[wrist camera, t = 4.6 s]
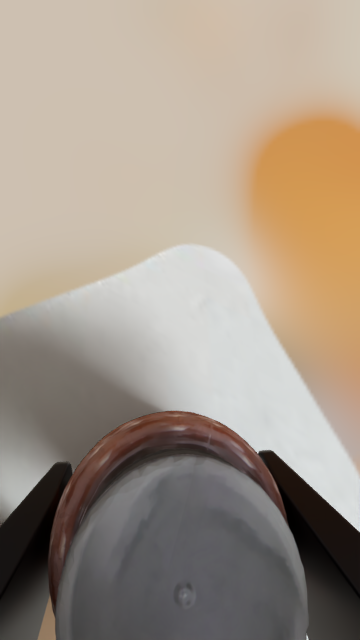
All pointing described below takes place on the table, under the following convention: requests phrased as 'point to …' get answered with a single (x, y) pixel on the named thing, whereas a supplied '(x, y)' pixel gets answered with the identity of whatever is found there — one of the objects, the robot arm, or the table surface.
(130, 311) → the table surface
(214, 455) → the supplement bottle
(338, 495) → the table surface
